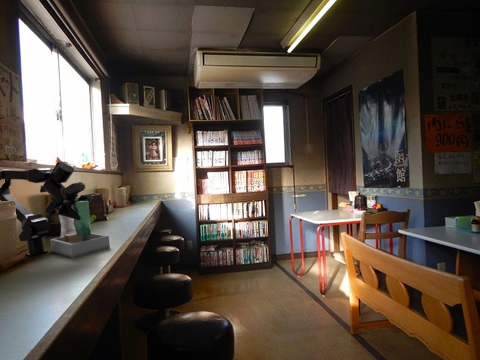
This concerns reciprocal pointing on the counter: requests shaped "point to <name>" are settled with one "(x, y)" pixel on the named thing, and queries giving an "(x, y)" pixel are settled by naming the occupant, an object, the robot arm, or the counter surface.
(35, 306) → the counter surface
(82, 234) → the green tall cylinder
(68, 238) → the walnut block
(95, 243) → the grey tote
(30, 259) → the counter surface
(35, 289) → the counter surface
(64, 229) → the plastic bottle
